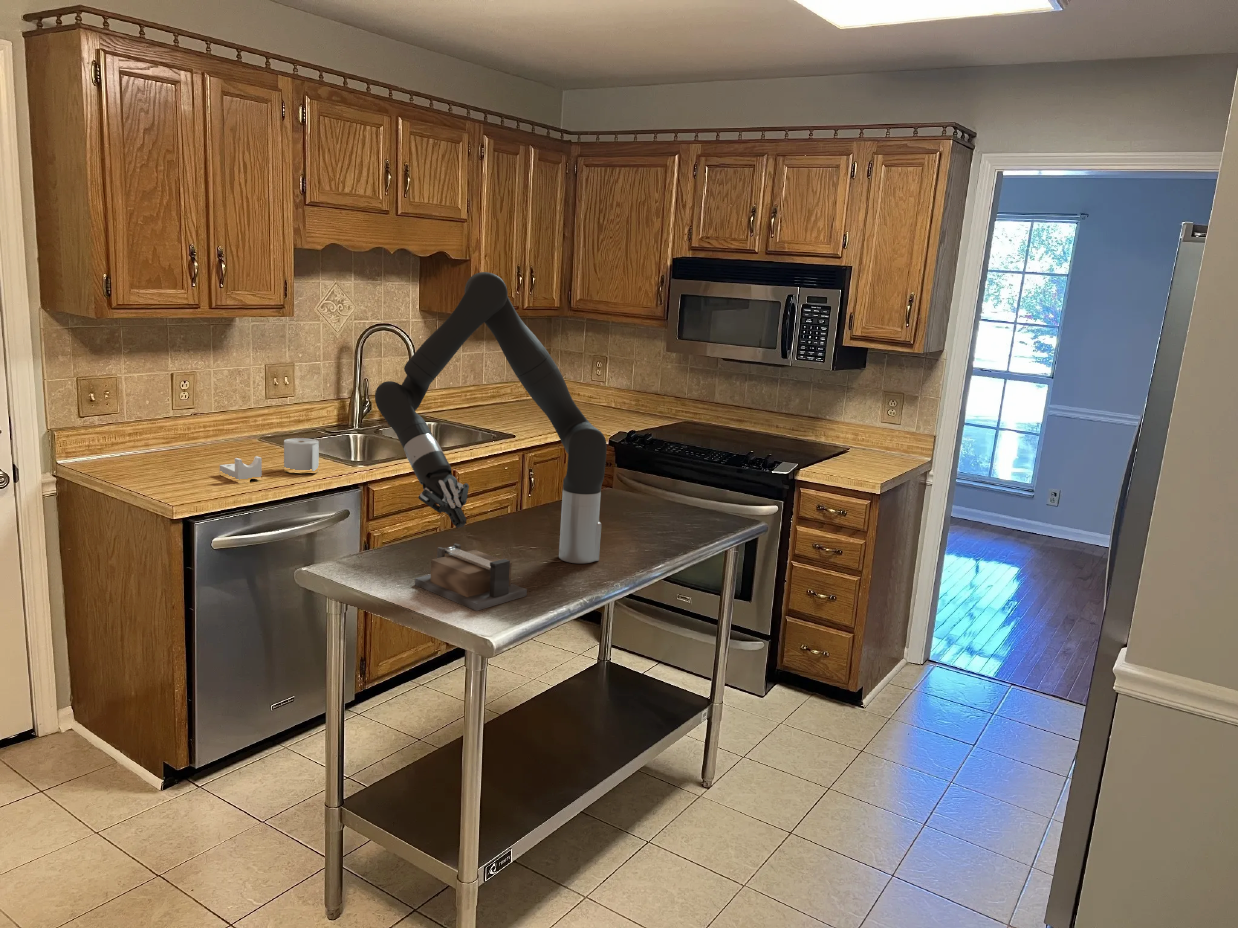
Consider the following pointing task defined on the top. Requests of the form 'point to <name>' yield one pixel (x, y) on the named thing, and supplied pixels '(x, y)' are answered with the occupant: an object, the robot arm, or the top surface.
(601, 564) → the top surface
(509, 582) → the latch block
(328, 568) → the top surface
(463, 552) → the strap
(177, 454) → the top surface
